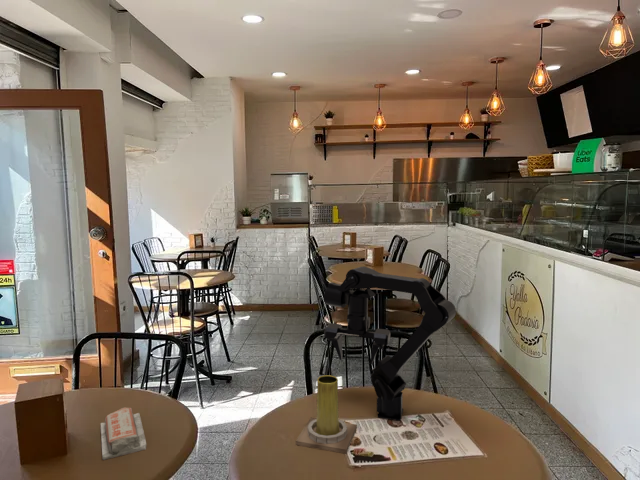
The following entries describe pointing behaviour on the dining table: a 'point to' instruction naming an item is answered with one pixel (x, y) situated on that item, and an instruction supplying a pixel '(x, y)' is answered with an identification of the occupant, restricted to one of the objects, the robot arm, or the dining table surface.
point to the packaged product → (122, 434)
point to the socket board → (327, 446)
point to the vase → (327, 405)
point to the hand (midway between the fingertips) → (356, 361)
